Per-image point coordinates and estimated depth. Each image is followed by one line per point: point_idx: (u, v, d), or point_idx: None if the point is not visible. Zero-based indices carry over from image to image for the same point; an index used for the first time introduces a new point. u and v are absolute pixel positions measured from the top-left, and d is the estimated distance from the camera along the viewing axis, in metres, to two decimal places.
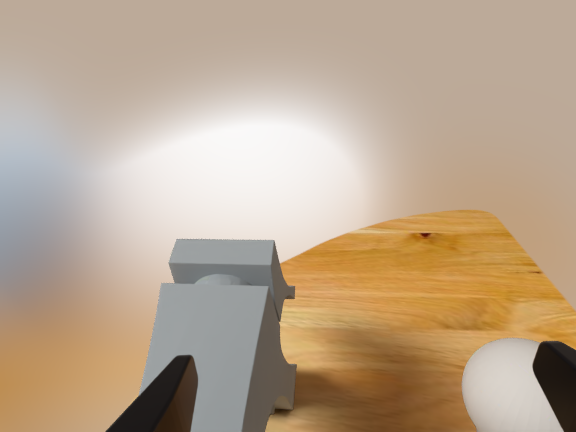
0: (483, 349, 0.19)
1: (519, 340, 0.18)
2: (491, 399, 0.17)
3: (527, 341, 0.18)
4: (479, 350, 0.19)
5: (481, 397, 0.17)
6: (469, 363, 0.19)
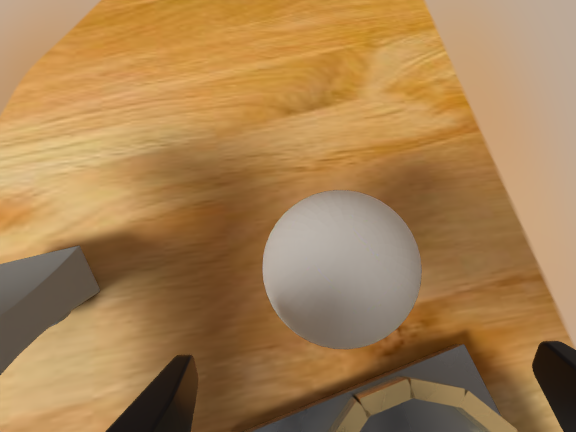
0: (281, 229, 0.12)
1: (329, 211, 0.11)
2: (285, 311, 0.11)
3: (340, 211, 0.11)
4: (278, 227, 0.12)
5: (275, 303, 0.12)
6: (266, 247, 0.12)
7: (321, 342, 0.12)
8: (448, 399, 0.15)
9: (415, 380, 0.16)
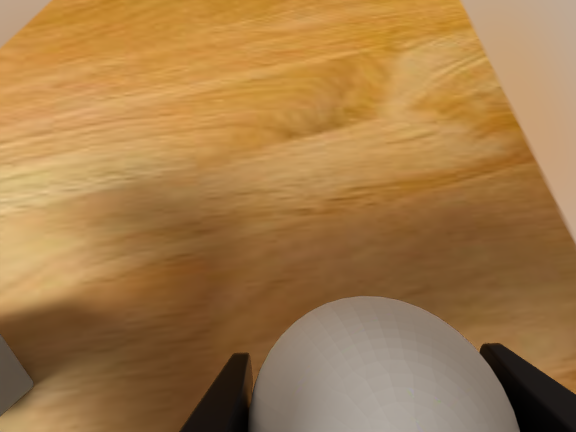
0: (279, 390, 0.07)
1: (367, 375, 0.06)
2: None
3: (387, 378, 0.06)
4: (274, 379, 0.07)
5: None
6: (254, 405, 0.07)
7: None
8: None
9: None
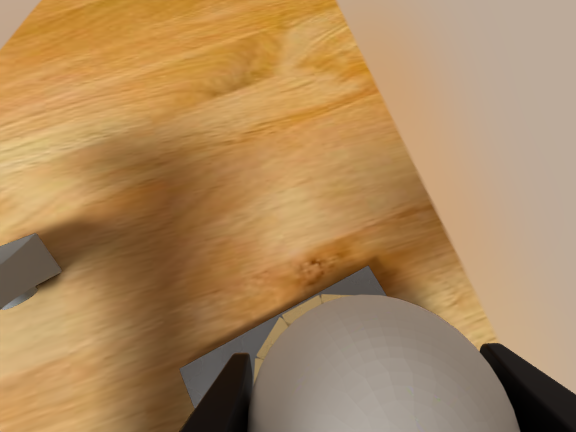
0: (278, 389, 0.07)
1: (366, 373, 0.06)
2: None
3: (387, 377, 0.06)
4: (273, 377, 0.07)
5: None
6: (253, 403, 0.07)
7: None
8: None
9: (325, 295, 0.20)
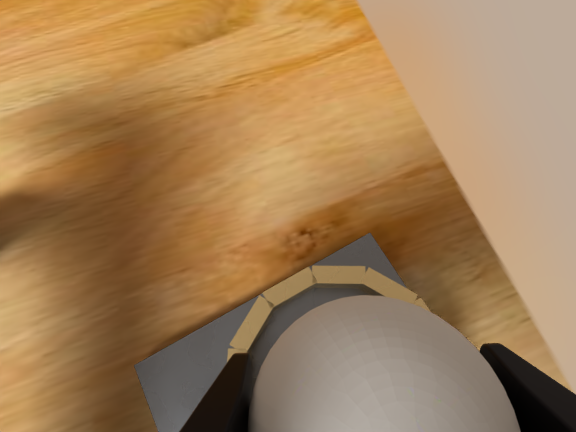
0: (279, 390, 0.07)
1: (367, 374, 0.06)
2: None
3: (387, 377, 0.06)
4: (274, 378, 0.07)
5: None
6: (254, 404, 0.07)
7: None
8: (350, 278, 0.15)
9: (316, 266, 0.16)
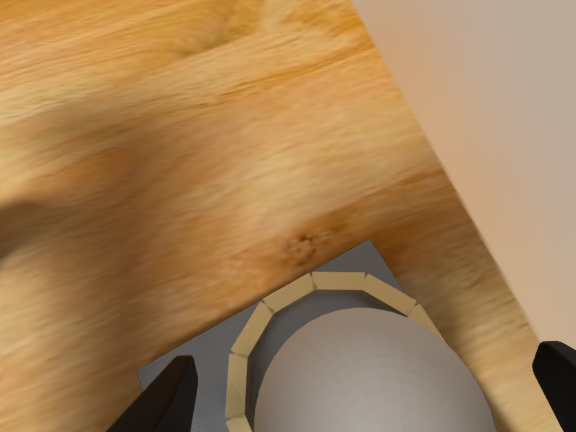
0: (282, 395, 0.08)
1: (359, 382, 0.07)
2: None
3: (377, 385, 0.07)
4: (277, 384, 0.08)
5: None
6: (259, 407, 0.08)
7: None
8: (349, 284, 0.16)
9: (316, 272, 0.16)
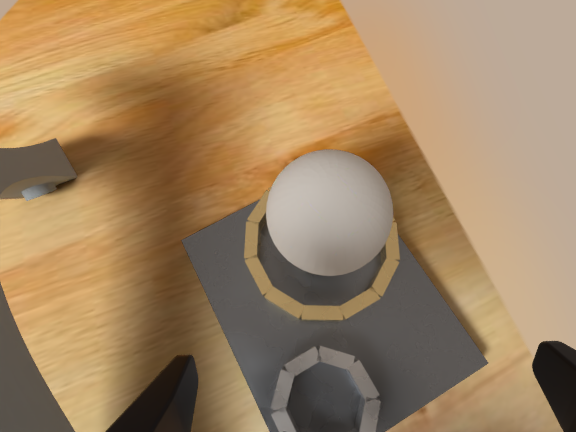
0: (281, 178, 0.15)
1: (319, 162, 0.14)
2: (284, 241, 0.14)
3: (327, 162, 0.14)
4: (279, 178, 0.15)
5: (277, 237, 0.15)
6: (269, 194, 0.16)
7: (313, 266, 0.15)
8: None
9: None
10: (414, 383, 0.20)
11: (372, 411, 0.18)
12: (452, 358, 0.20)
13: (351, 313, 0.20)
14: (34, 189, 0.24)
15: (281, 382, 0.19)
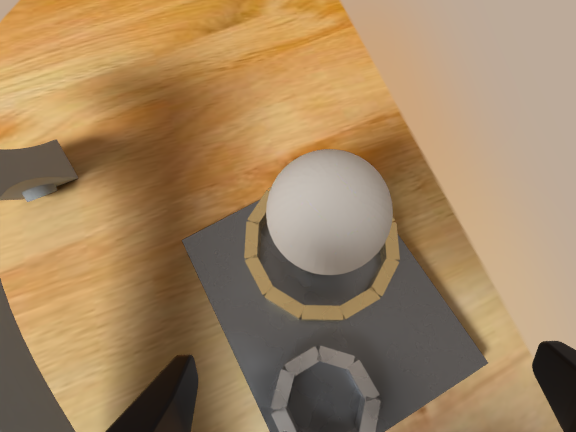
0: (281, 178, 0.15)
1: (318, 161, 0.14)
2: (284, 241, 0.15)
3: (327, 161, 0.14)
4: (279, 177, 0.15)
5: (277, 237, 0.15)
6: (269, 194, 0.16)
7: (312, 265, 0.15)
8: None
9: None
10: (414, 383, 0.20)
11: (372, 411, 0.18)
12: (451, 358, 0.20)
13: (351, 313, 0.20)
14: (35, 190, 0.24)
15: (281, 382, 0.19)
